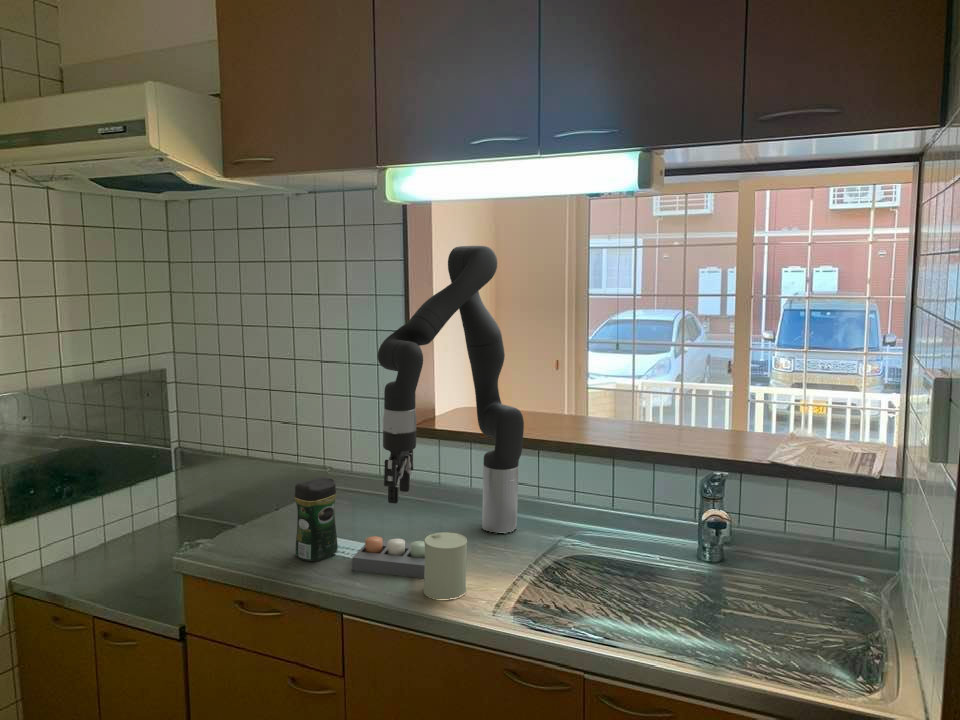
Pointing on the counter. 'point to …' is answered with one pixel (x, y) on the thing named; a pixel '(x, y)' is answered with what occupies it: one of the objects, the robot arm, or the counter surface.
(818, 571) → the counter surface
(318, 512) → the coffee jar
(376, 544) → the terracotta button
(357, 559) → the button panel
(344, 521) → the counter surface
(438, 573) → the can
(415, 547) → the sage button
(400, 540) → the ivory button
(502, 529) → the robot arm
